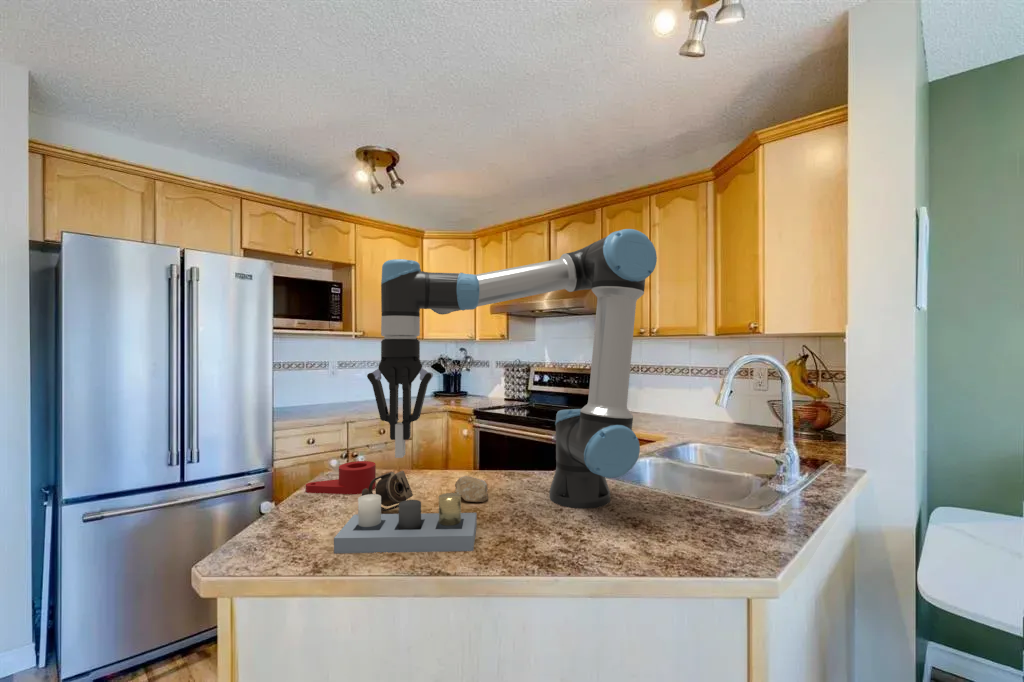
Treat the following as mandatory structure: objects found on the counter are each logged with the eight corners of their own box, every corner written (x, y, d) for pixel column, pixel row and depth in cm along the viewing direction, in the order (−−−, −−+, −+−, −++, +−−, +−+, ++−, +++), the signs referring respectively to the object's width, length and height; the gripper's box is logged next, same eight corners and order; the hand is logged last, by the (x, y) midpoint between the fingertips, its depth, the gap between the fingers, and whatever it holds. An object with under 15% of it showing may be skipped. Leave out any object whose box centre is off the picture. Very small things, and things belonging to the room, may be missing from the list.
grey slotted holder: (476, 526, 100) (476, 512, 100) (473, 551, 88) (473, 535, 88) (354, 528, 99) (354, 514, 99) (334, 554, 87) (333, 538, 87)
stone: (486, 492, 124) (487, 475, 125) (487, 503, 114) (489, 485, 114) (454, 490, 124) (456, 472, 124) (453, 501, 113) (455, 482, 113)
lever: (378, 484, 131) (378, 460, 131) (372, 494, 122) (372, 469, 122) (311, 487, 129) (311, 462, 129) (300, 498, 120) (299, 472, 120)
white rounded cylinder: (383, 518, 96) (383, 493, 96) (377, 526, 91) (377, 501, 91) (362, 518, 96) (361, 494, 96) (355, 527, 91) (355, 501, 91)
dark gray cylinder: (422, 523, 96) (422, 499, 96) (419, 532, 92) (418, 507, 92) (401, 524, 96) (401, 499, 96) (396, 533, 91) (396, 507, 91)
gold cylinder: (461, 517, 96) (461, 492, 96) (460, 525, 92) (459, 499, 92) (440, 517, 96) (440, 493, 96) (437, 525, 92) (437, 500, 92)
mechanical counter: (401, 522, 103) (401, 476, 103) (348, 518, 105) (348, 474, 105) (415, 510, 110) (414, 468, 110) (365, 507, 112) (364, 465, 112)
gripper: (435, 338, 98) (435, 451, 98) (372, 338, 97) (372, 451, 97) (430, 338, 90) (430, 460, 90) (362, 337, 90) (361, 460, 90)
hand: (400, 455), depth 94 cm, fingers closed
